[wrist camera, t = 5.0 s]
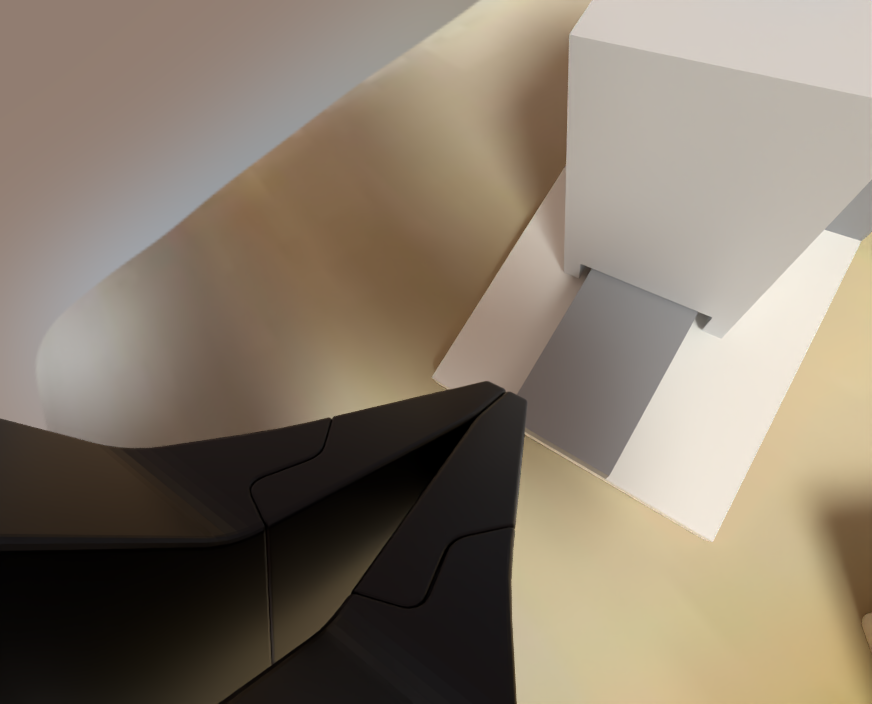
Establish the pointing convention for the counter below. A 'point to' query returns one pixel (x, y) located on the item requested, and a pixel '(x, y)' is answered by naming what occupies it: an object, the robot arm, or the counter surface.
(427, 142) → the counter surface
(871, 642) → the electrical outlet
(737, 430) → the board
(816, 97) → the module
